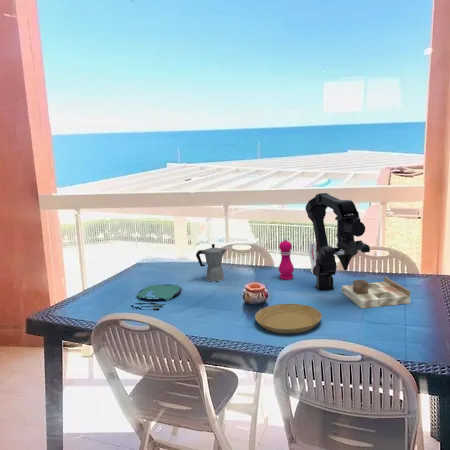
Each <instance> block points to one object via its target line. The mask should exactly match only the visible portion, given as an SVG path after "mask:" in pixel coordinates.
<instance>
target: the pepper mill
mask: <svg viewBox="0 0 450 450" xmlns="http://www.w3.org/2000/svg"><path fill="white" fill-rule="evenodd" d="M292 247H293V246H292V243H291V242H290V241H288V238H286V237H284V238H283V241H281V242H280V243H279V245H278V249H279V250H280V255H281V259H280V263H279V266H278V272H279V273H280V274H279V279H280V278H281V279H280V280H282V279H284V281H289V280H290V281H291V280H292V278H294V275H293V273H294V271H295V270H294V264H293V262H292V261H291V254H292V253H291V252H292V251H291V250H292Z"/></svg>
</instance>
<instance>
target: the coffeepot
mask: <svg viewBox="0 0 450 450" xmlns="http://www.w3.org/2000/svg"><path fill="white" fill-rule="evenodd" d="M215 246H216V244H215V243H212V244H211V247H210V248H207V249H199V250H198V251H197V252H196V254H195V256H196V259H197V260H198V263H199V265H200V267H205V265H206V264H207V268H206V279H207V280H209V281H219V280H222V281H224V280H225V274H224V270H223V266H222V262H223V257H224V255H225V253H226V251H227V248H221V247H215ZM200 255H204V256H205V261H206V264H203V261H202V258H201V256H200ZM206 279H205V280H206ZM223 279H224V280H223ZM207 280H206V281H207ZM209 281H208V282H209ZM219 282H220V281H219Z"/></svg>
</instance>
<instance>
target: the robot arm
mask: <svg viewBox="0 0 450 450" xmlns="http://www.w3.org/2000/svg"><path fill="white" fill-rule="evenodd" d="M328 208H329V209H332V212H333V213H334V214H335V215H336V217H335V218H334V220H335V221H337V223H336V225H337V227H336V229H337V231H336V232H337V233H336V234H335V235H336V237H337V243H336V247H333V246H331V245H329V244H328V238H327V231H326V226H325V218H326V214H327V211H326V210H327V209H328ZM305 211H306V214H307V218H309V220H310V221H311V222H312V226H313V232H314V237H315V242H316V244H317V249H318V256H317V258H316V265H315V267H314V269H313V273H312V274H313V275H314V276H315V277H316V284H315V288H316V289H317V290H319V291H328V290H329V291H330V290H334V289H335V288H334V278H333V276H335V275H336V272H337V267H338V265H337V261H336V257H335V256H337V258H338V260H339V262H340V265H341V267H342V269H343V270H344V271H347V270H348V268H349V265H350V262H351V260H352V259H353V257H354V256H356V255H357V254H358V253H359V251H360V252H361V253H370V252H371V247H370V245H369V244H367V243H366V242H365V243H364V242H363V241H362V240H355V238H354V237H361V236H363V235H364V234H365V233H366V225H365V224H364V223H363V222H362V221H361V218H360V213H359V211H358V210H357V207H356V204H355V203H354V202H353V200H352V199H351V200H350V199H339V198H337V197H335V196H333V195H331V194H329V193H327V192H323V193H317V194H316V195H315V196H314V197H312V198H311V199H310V200H308V202H307V203H306V205H305Z"/></svg>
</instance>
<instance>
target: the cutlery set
mask: <svg viewBox="0 0 450 450" xmlns="http://www.w3.org/2000/svg"><path fill="white" fill-rule="evenodd" d="M182 290H183V288H182V286H180V285H179V284H167V283H166V284H159V283H158V284H154V285H153V284H152V285H149V286H146V287H145V288H143V289H141V290H139V292H138V293H137V294H136V297H137V296H138V297H137V298H139V299H140V298H142V299H141V300H148V301H150V302H149V303H151V302H152V301H153V303H154V302H155V301H160V300H165V301H167V300H168V299H170V300H172V298H173V297H175V296H177V295H179V294H180V293H181V291H182ZM150 291H152V292H153V291H154V292H153V293H151V294H152V295H155V297H151V296H150V297H148V296H146V295H147V292H150ZM143 297H144V298H143ZM147 298H152V299H147ZM153 298H159V299H153ZM168 301H169V300H168ZM152 305H153V306H152V308H153V309H160V307H156V306H162V307H164V306H163V305H164V304H152Z"/></svg>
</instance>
